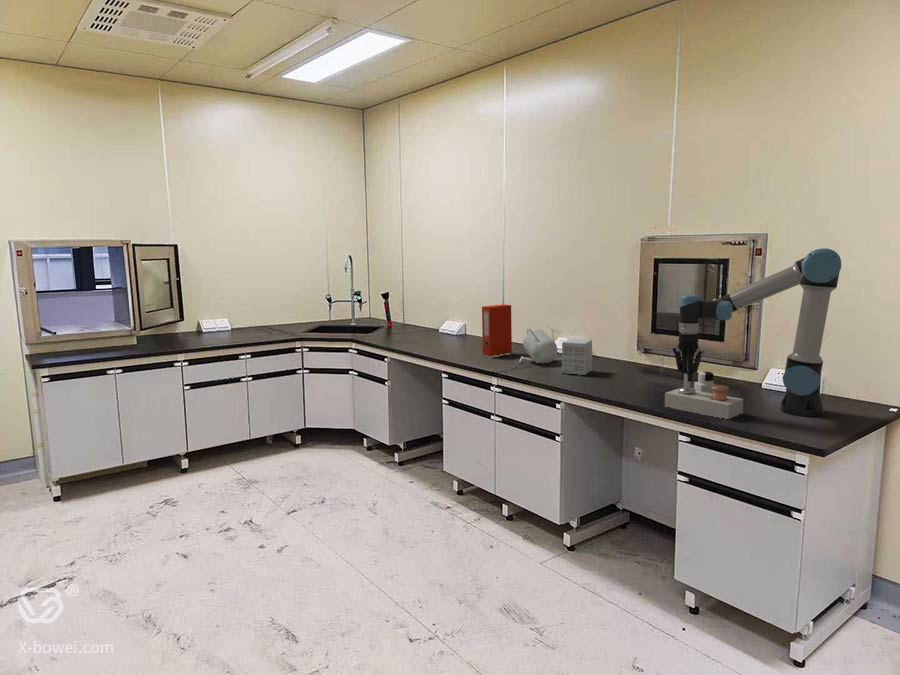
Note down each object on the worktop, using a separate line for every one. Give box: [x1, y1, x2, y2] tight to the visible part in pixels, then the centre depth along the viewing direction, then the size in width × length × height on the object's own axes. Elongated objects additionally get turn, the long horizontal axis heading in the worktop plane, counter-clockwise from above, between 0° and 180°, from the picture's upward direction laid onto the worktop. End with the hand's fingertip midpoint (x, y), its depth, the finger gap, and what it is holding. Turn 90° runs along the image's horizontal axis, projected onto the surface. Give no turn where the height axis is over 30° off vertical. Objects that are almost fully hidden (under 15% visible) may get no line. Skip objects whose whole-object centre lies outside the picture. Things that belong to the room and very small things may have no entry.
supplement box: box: [561, 338, 593, 375], centre depth 320 cm, size 13×13×18 cm
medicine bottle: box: [693, 371, 717, 394], centre depth 259 cm, size 7×7×12 cm
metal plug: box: [678, 386, 695, 395], centre depth 248 cm, size 6×6×8 cm
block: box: [664, 388, 744, 420], centre depth 243 cm, size 27×12×6 cm, turn 39°
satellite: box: [518, 325, 563, 364], centre depth 348 cm, size 23×20×25 cm
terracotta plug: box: [711, 384, 730, 402], centre depth 237 cm, size 6×6×8 cm
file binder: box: [481, 303, 513, 356], centre depth 374 cm, size 8×17×32 cm, turn 124°
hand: (686, 388), depth 248 cm, fingers closed
